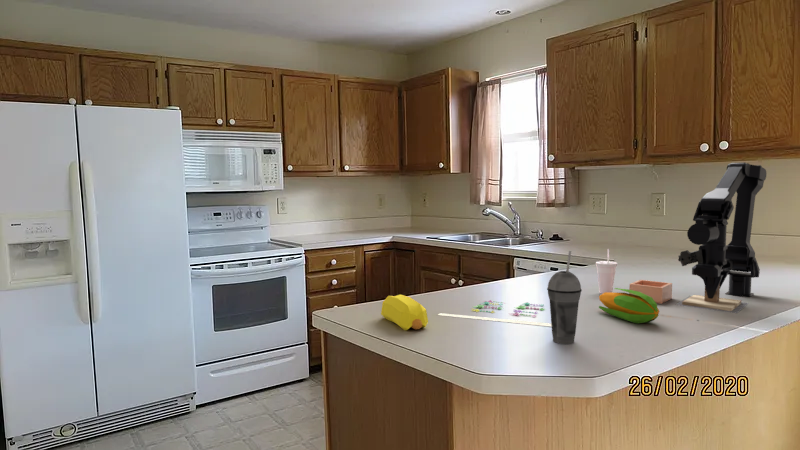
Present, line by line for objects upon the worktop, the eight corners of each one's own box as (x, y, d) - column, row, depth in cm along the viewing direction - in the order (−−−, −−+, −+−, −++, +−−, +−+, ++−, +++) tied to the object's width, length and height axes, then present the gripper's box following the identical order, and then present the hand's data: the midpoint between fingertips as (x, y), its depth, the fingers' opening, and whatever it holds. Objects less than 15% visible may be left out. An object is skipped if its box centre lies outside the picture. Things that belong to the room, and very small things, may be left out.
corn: (644, 296, 127) (588, 282, 146) (641, 328, 128) (586, 310, 147) (668, 296, 130) (610, 282, 149) (665, 327, 130) (608, 309, 149)
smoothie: (618, 295, 165) (619, 250, 163) (596, 294, 166) (597, 249, 165) (614, 291, 171) (615, 247, 170) (593, 290, 172) (594, 247, 171)
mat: (689, 297, 161) (689, 295, 161) (748, 304, 151) (748, 303, 151) (674, 306, 150) (674, 304, 150) (736, 314, 140) (736, 313, 140)
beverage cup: (541, 336, 122) (542, 249, 120) (572, 335, 122) (574, 248, 121) (553, 346, 115) (554, 253, 113) (586, 345, 115) (588, 252, 114)
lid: (693, 297, 159) (694, 277, 158) (741, 303, 150) (742, 282, 150) (682, 304, 150) (682, 283, 149) (731, 311, 142) (732, 289, 141)
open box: (639, 295, 164) (640, 279, 163) (671, 300, 158) (672, 283, 157) (629, 300, 157) (629, 284, 157) (661, 305, 151) (662, 287, 151)
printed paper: (437, 316, 143) (437, 310, 143) (471, 296, 170) (471, 291, 170) (552, 328, 130) (552, 322, 130) (570, 304, 157) (570, 299, 157)
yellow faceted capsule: (404, 334, 126) (433, 331, 129) (404, 306, 125) (433, 303, 128) (376, 317, 142) (403, 314, 145) (376, 292, 141) (403, 289, 144)
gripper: (691, 237, 161) (689, 288, 162) (672, 243, 147) (670, 299, 149) (734, 239, 154) (732, 293, 155) (718, 245, 140) (716, 304, 141)
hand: (711, 297), depth 150 cm, fingers closed on lid, 3 cm apart
